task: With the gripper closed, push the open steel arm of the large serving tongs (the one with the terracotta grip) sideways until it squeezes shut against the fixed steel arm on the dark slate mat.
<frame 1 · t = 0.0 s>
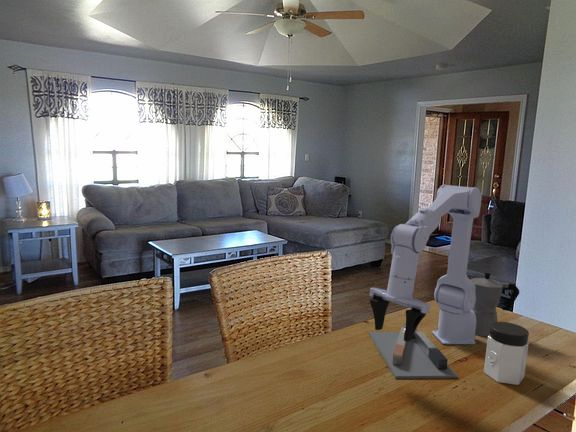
hand: (392, 334, 99), 11 cm above the table, tool pointing down, fingers open, 7 cm apart
slate mat: (409, 338, 122), on the table
coffeepot: (484, 331, 129), on the table
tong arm: (406, 342, 114), point 2 cm above the table, hinge at -25.0°
jar: (503, 376, 104), on the table
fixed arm: (429, 348, 111), on the slate mat, point 2 cm above the table
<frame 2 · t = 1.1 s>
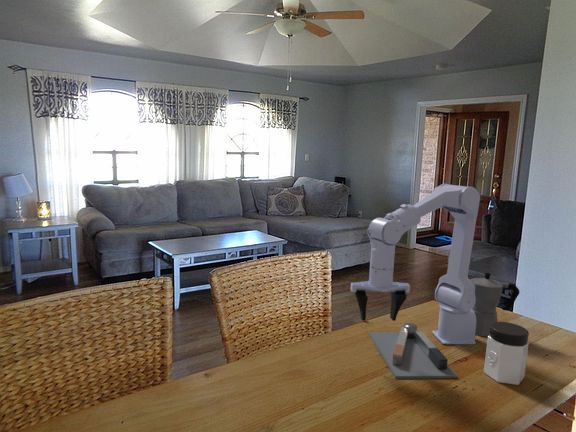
hand: (377, 319, 108), 10 cm above the table, tool pointing down, fingers open, 7 cm apart
nothing on the table moved.
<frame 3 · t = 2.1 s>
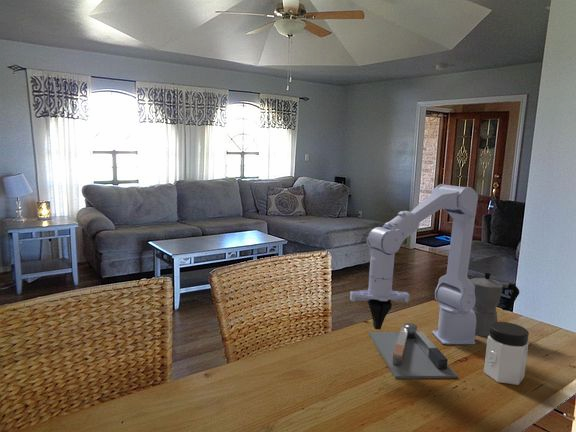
hand: (377, 327, 109), 8 cm above the table, tool pointing down, fingers closed
nothing on the table moved.
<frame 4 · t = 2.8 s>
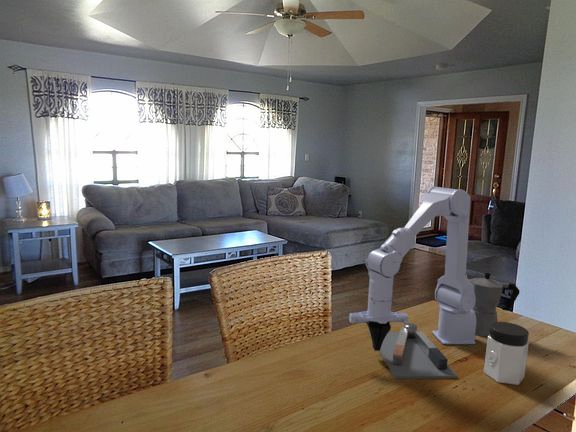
hand: (376, 348, 110), 2 cm above the table, tool pointing down, fingers closed
nothing on the table moved.
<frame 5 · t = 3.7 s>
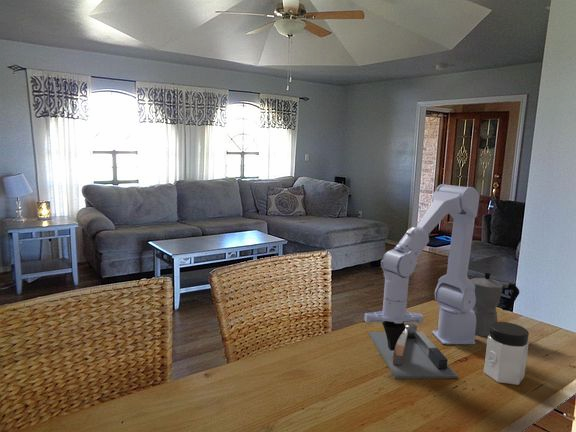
hand: (391, 348, 110), 2 cm above the table, tool pointing down, fingers closed, pressing on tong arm
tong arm: (406, 342, 114), point 2 cm above the table, hinge at -24.8°, touching gripper
everything else where it was.
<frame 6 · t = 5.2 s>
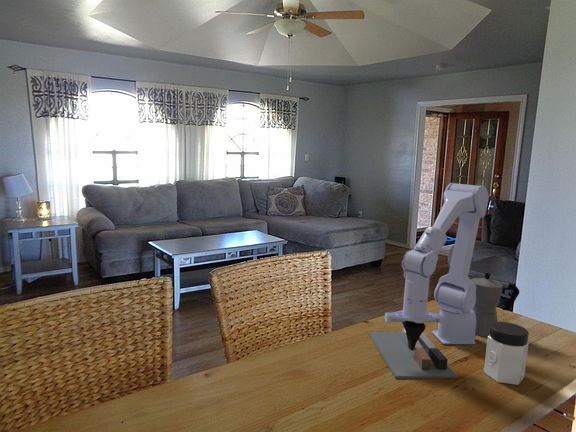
hand: (411, 348, 110), 3 cm above the table, tool pointing down, fingers closed
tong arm: (418, 344, 113), point 2 cm above the table, hinge at -3.9°, touching gripper
everything else where it was.
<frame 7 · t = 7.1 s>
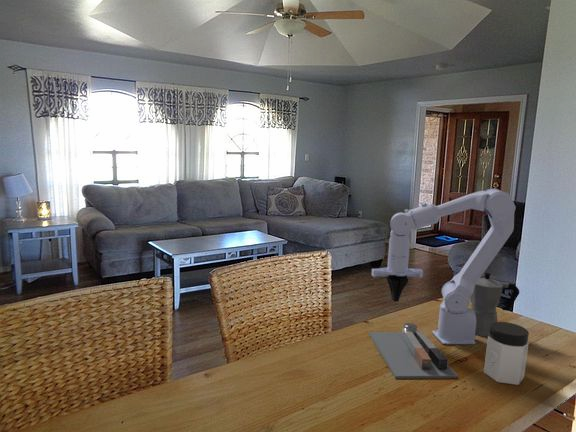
hand: (395, 300, 125), 9 cm above the table, tool pointing down, fingers closed
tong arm: (418, 344, 113), point 2 cm above the table, hinge at -3.9°
everything else where it was.
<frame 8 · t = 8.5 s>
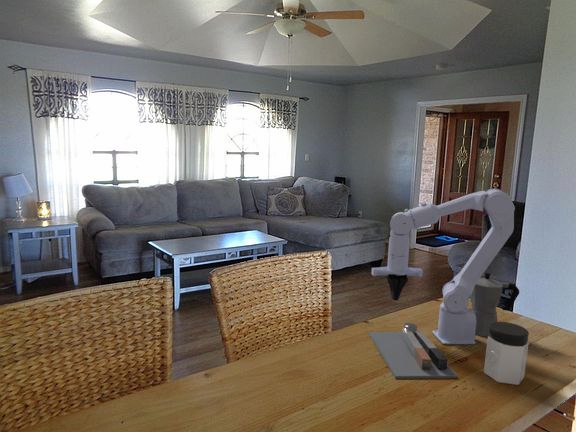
hand: (394, 299, 126), 9 cm above the table, tool pointing down, fingers closed
nothing on the table moved.
at the end: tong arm at -4° (first picture: -25°); jar moved 0.2 cm from its start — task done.
